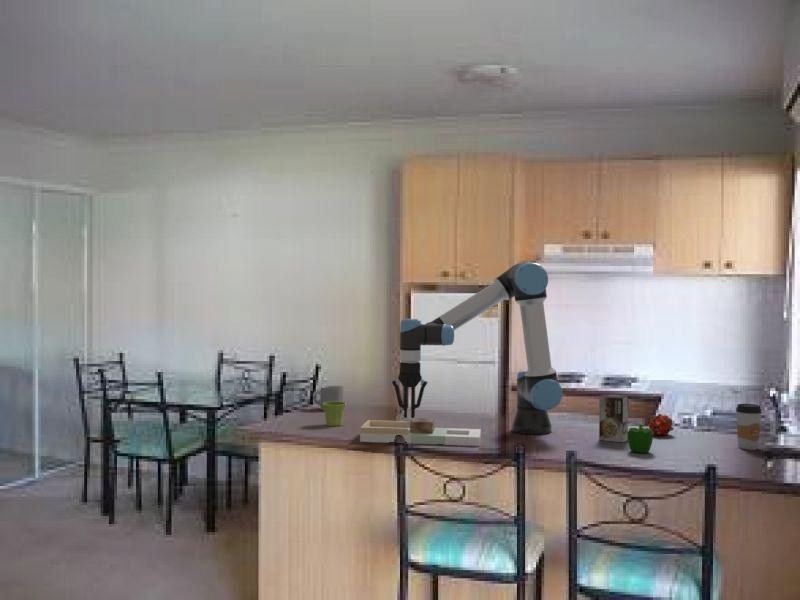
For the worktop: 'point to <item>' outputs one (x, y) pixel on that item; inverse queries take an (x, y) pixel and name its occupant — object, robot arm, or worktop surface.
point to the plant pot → (334, 413)
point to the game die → (400, 416)
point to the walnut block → (422, 425)
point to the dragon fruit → (660, 425)
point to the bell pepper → (640, 439)
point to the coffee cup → (748, 425)
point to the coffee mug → (329, 395)
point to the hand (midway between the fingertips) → (409, 426)
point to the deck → (417, 434)
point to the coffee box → (613, 418)
